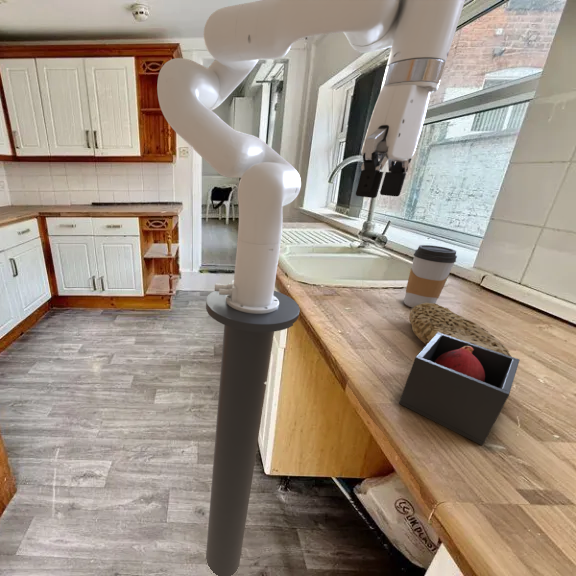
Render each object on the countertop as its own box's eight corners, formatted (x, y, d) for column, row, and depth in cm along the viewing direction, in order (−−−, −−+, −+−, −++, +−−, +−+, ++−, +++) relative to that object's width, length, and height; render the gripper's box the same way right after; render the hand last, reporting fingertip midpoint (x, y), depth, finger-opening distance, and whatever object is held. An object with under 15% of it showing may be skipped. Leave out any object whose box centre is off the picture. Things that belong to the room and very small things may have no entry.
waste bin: (482, 446, 38) (509, 394, 35) (398, 403, 45) (415, 357, 42) (496, 405, 45) (520, 359, 42) (422, 373, 52) (437, 332, 49)
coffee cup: (440, 315, 73) (463, 255, 68) (399, 307, 77) (417, 249, 72) (435, 303, 80) (455, 247, 75) (398, 296, 84) (414, 242, 78)
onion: (444, 395, 42) (463, 341, 42) (416, 383, 48) (433, 336, 48) (486, 411, 42) (505, 356, 42) (453, 397, 48) (470, 349, 48)
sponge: (398, 325, 70) (414, 351, 53) (414, 295, 68) (437, 311, 51) (466, 352, 65) (509, 390, 48) (486, 319, 63) (539, 346, 46)
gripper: (404, 93, 55) (376, 193, 61) (360, 72, 44) (332, 194, 51) (455, 87, 49) (419, 197, 56) (419, 62, 39) (380, 200, 46)
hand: (378, 196), depth 53 cm, fingers open, 9 cm apart
